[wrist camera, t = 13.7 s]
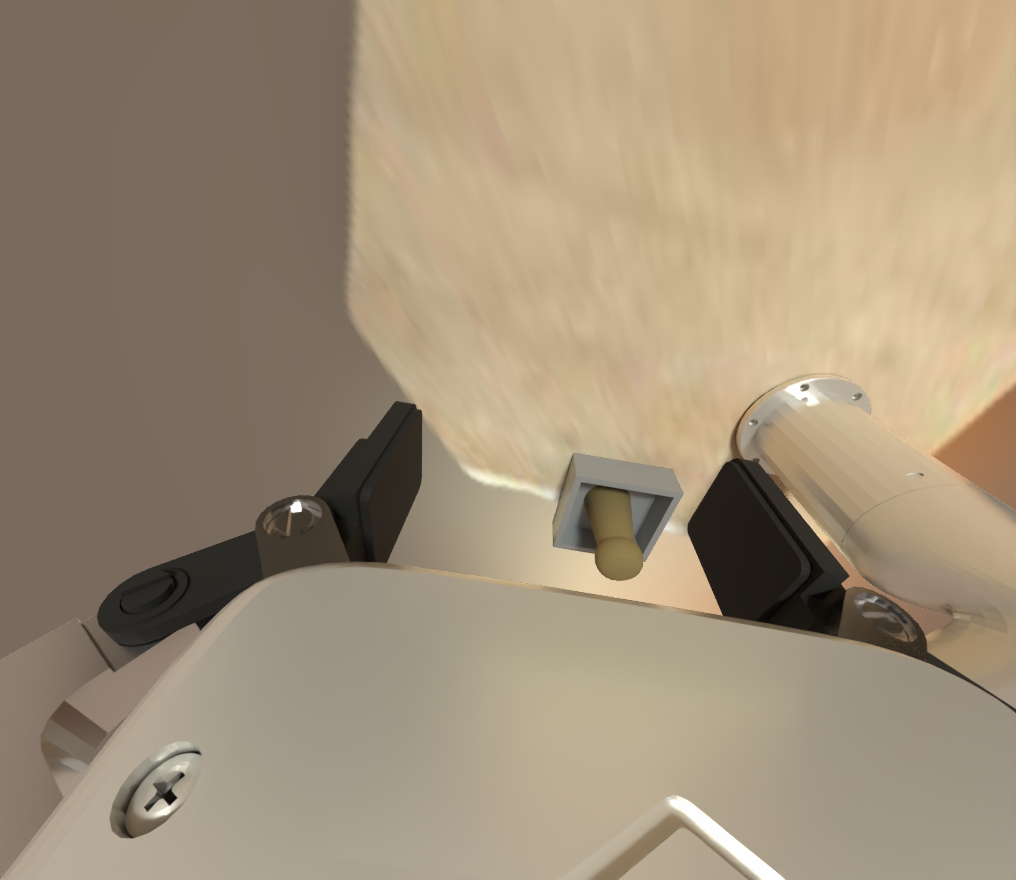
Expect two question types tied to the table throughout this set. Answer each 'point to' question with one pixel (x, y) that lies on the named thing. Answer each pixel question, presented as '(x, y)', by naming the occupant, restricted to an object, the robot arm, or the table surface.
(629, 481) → the box
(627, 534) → the cork
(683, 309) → the table surface
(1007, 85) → the table surface
